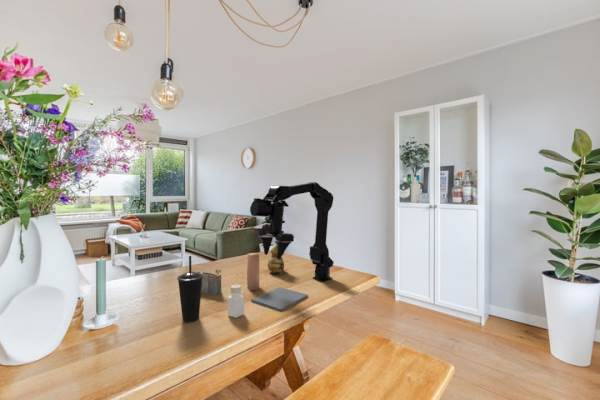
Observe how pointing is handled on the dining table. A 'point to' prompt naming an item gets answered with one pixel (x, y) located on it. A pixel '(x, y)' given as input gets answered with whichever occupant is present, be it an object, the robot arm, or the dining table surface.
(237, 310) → the pepper shaker
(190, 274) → the drinking cup
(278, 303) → the rubber mat
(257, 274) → the wooden peg
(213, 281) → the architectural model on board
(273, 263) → the decorative figurine
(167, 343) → the dining table surface
